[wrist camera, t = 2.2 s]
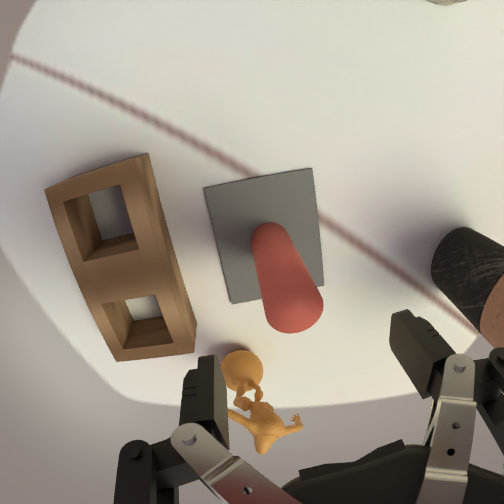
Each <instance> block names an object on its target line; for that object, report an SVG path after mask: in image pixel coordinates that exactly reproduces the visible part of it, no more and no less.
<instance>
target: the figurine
mask: <svg viewBox="0 0 504 504" xmlns="http://www.w3.org/2000/svg"><path fill="white" fill-rule="evenodd" d="M220 367H221V370H222V373H223V376H224V379H225V383H226V386H227V387H228V388H230V389H231V390H234V391H237V394H236V398H235V400H234V402H233V403H234V405H235V406H236V407H239V408H240V409H242V410H243V411H247V410H250V412H251V415H250V419H248V418H246V417H244V416H243V415H241V414H239V413H237V412H235V411H232V410H230V409H227V410H228V417H230V418H231V419H232V420H234V421H236V422H238V423H240V424H241V425H243V426H244V427H246V428H247V429H248V430H249V432H250V433H251V434H252V435H253V436H254V444H255V448H256V451H257V452H258V453H259V454H265V453H266V452H267V451H268V450H269V448H270V447H271V445H272V443H273V442H274V441H275V440H276V439H278V438H279V437H282V436H285V435H287V434H289V433H294V432H297V431H299V430H301V429H302V428H303V425H302V423H301V420H300V416H299V415H298V414H297V416H296V415H295V418H294V417H292V418H293V419H294V420H291V421H295V424H296V425H290V426H284V423H283V421H282V419H281V418H280V417H279V416H278V415H277V414H276V413H275V412H274V409H273V407H272V406H271V405H270V404H268V403H267V402H260V400H261V399H262V397H263V392H262V391H261V388H260V386H259V385H258V384H259V383H260V381H261V379H262V376H263V366H262V363H261V361H260V359H259V358H258V357H257V356H256V355H255V354H253V353H251V352H249V351H246V350H237V351H233V352H231V353H229V354H228V355H227V356H226V357H225V358H224V359H223V361H222V363H221V365H220ZM252 389H255V390H256V392H255V395H254V396H255V402H253V401H251V400H250V399H249V398H247V397H241V396H243V395H244V393H245V392H246V391H250V390H252Z"/></svg>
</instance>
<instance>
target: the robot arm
mask: <svg viewBox="0 0 504 504" xmlns="http://www.w3.org/2000/svg"><path fill="white" fill-rule="evenodd" d="M429 1H431V2H434V3H437V4H440V5H453V4H456V3H459V2H463V1H467V0H429ZM389 343H390V347H391V350H392V352H393V353H394V355H395V356H396V358H397V359H398V361H399V362H400V364H401V366H402V367H403V369H404V370H405V372H406V373H407V375H408V376H409V378H410V380H411V381H412V383H413V384H414V386H415V387H416V389H417V391H418V392H419V394H420V395H421V397H422V399H425V398H428V397H430V396H432V398H433V402H432V406H431V411H430V416H429V420H428V424H427V428H426V433H425V436H424V439H423V442H422V445H415V444H411V445H404V443H403V441H402V439H401V440H398V441H395V442H393V443H390V444H387V445H385V446H382V447H379V448H377V449H375V450H374V451H372V452H371V453H369V454H367V455H366V456H364V457H362V458H360V459H359V460H357V461H355V462H347V463H333V464H323V465H319V466H315V467H311V468H306V469H302V470H299V474H300V476H299V477H297V478H295V479H293V480H291V481H290V482H288V483H287V484H285V485H284V486H283V487H282V488H279V487H278V486H277V485H275V484H274V483H273V482H271V481H270V480H269V479H268V478H266V477H265V476H264V475H262V474H261V473H260V472H259V471H257V470H256V469H255V468H253V467H252V466H251V465H250V464H249V463H247V462H246V461H245V460H244V459H242V458H241V457H239V456H234V455H232V453H230V452H229V451H228V450H229V434H228V433H229V432H228V410H227V389H226V383H225V379H224V376H223V373H222V370H221V367H220V365H219V362H218V359H217V356H216V355H215V354H214V355H208V356H201V357H199V358H198V368H197V369H192V370H189V371H188V373H187V374H186V376H185V378H184V381H183V390H182V400H181V411H180V421H179V427H177V428H176V429H175V430H174V431H173V433H172V435H171V437H170V438H168V439H166V440H164V441H161V442H158V443H155V444H152V445H149V444H148V443H147V442H145V441H142V440H134V441H131V442H128V443H127V444H125V445H124V446H123V447H122V449H121V451H120V454H119V461H118V468H117V476H116V485H115V494H114V504H179V489H178V486H181V485H184V484H187V483H190V482H193V481H195V480H198V479H199V480H200V481H201V482H202V483H203V484H204V485H205V486H206V487H207V488H208V489H209V490H210V491H211V492H212V493H213V494H214V495H215V496H216V497H217V498H218V499H219V500H220V501H221V502H222V503H223V504H504V471H503V475H500V474H497V473H494V472H492V471H489V470H486V469H483V468H480V467H478V466H475V465H472V464H470V463H469V459H470V453H471V447H472V440H473V433H474V425H475V416H476V408H477V410H478V411H479V413H480V415H481V416H482V418H483V420H484V421H485V423H486V425H487V426H488V428H489V430H490V432H491V433H492V435H493V437H494V439H495V440H496V442H497V444H498V446H499V448H500V449H501V451H502V453H503V455H504V395H503V393H504V348H503V347H498V348H495V349H493V350H492V351H491V352H490V355H489V358H486V359H480V360H472V359H471V358H470V357H469V356H467V355H465V354H456V353H455V352H454V350H453V349H452V348H451V347H450V346H449V344H448V343H447V342H446V341H445V340H444V339H443V337H442V336H441V335H439V333H438V332H437V331H436V329H434V327H433V326H432V325H431V324H430V323H429V322H428V321H427V320H425V319H423V318H421V317H415V316H414V315H413V314H412V313H411V312H410V311H409V310H408V309H406V310H403V311H400V312H396V313H393V314H392V316H391V327H390V337H389ZM502 391H503V393H502ZM503 469H504V462H503Z"/></svg>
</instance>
